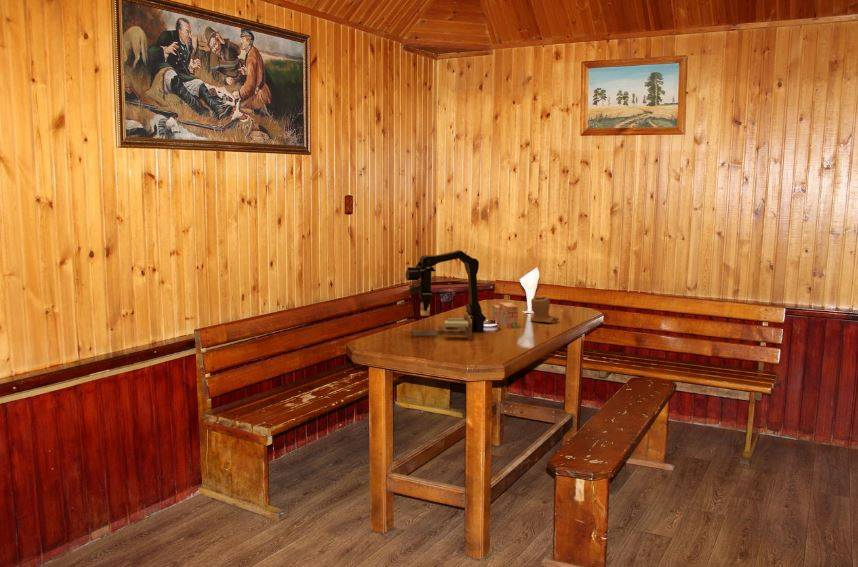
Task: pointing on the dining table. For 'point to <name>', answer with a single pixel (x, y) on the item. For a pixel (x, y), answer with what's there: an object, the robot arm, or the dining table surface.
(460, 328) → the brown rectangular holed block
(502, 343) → the dining table surface
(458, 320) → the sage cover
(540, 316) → the brown boot
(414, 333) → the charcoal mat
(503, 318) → the stack of blocks
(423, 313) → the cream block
